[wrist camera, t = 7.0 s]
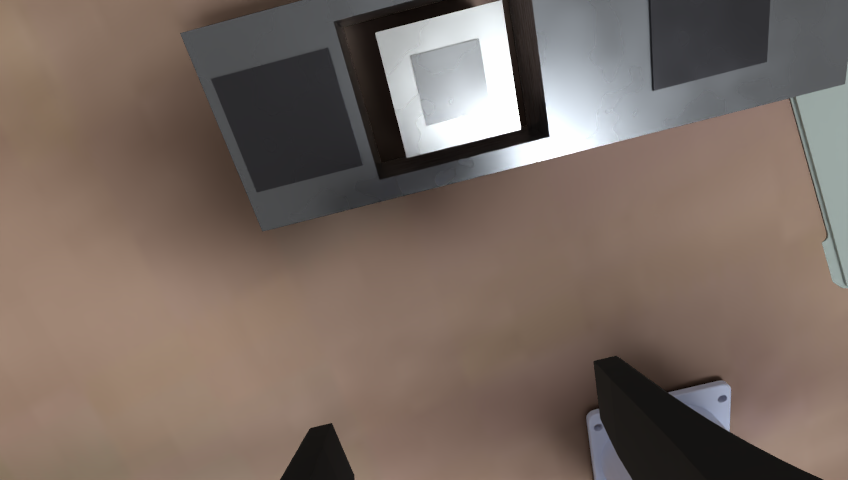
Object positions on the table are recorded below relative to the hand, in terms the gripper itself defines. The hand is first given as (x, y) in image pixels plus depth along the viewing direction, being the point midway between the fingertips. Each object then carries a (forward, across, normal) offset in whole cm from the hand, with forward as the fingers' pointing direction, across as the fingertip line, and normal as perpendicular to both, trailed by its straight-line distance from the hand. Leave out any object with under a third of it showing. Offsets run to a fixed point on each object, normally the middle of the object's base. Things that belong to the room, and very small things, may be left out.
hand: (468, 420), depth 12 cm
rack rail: (+10, -5, -8) cm, 14 cm away
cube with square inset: (+10, -2, -8) cm, 13 cm away
